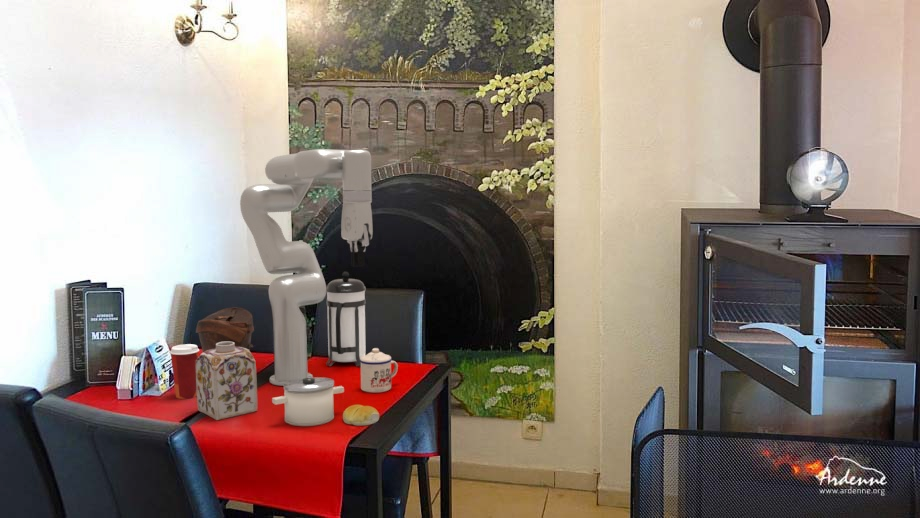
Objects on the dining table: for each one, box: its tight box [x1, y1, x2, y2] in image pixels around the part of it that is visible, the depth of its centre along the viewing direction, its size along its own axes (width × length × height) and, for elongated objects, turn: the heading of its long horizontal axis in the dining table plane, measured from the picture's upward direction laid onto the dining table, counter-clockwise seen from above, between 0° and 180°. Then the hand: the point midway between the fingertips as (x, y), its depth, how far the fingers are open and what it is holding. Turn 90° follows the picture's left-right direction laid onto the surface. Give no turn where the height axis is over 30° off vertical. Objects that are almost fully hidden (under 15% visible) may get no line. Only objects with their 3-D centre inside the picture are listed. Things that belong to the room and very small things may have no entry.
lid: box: [283, 376, 335, 392], centre depth 189 cm, size 12×12×2 cm
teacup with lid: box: [360, 347, 399, 394], centre depth 217 cm, size 12×9×12 cm
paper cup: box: [169, 343, 200, 400], centre depth 209 cm, size 8×8×14 cm
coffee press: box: [326, 271, 367, 368], centre depth 244 cm, size 17×16×30 cm
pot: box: [271, 385, 345, 427], centre depth 190 cm, size 12×18×8 cm, turn 125°
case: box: [195, 306, 255, 353], centre depth 242 cm, size 18×20×18 cm
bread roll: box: [342, 404, 380, 427], centre depth 188 cm, size 8×9×4 cm
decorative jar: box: [196, 341, 258, 421], centre depth 195 cm, size 12×12×18 cm
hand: (358, 266), depth 201 cm, fingers closed
